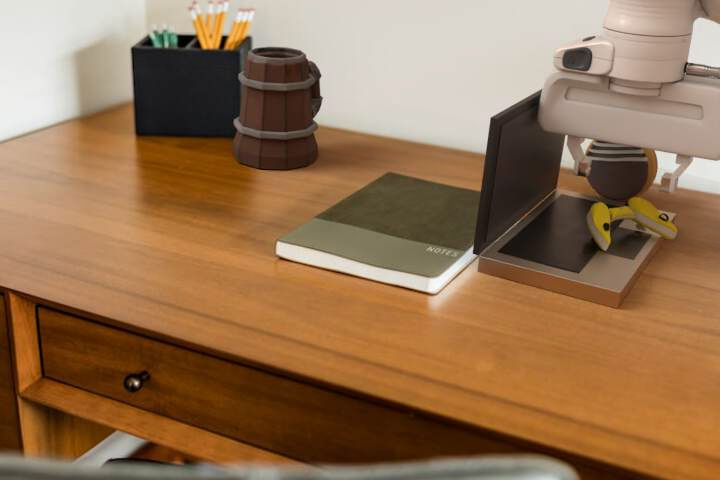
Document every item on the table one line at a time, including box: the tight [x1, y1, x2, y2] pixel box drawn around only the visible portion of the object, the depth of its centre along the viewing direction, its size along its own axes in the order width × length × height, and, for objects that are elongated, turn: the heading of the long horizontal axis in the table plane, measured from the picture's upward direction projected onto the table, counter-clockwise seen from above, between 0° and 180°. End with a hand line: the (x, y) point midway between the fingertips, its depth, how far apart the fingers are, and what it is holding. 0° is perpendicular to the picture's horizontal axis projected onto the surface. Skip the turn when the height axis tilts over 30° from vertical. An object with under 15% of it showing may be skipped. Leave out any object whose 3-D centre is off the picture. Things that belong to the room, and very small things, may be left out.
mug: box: [232, 46, 324, 171], centre depth 127 cm, size 16×12×15 cm
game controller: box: [586, 196, 678, 251], centre depth 101 cm, size 10×6×4 cm, turn 116°
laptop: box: [477, 188, 677, 309], centre depth 103 cm, size 15×26×2 cm, turn 150°
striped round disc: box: [584, 140, 659, 203], centre depth 117 cm, size 9×4×10 cm, turn 51°
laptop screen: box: [472, 87, 567, 256], centre depth 103 cm, size 15×26×1 cm
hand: (623, 183), depth 98 cm, fingers open, 8 cm apart
